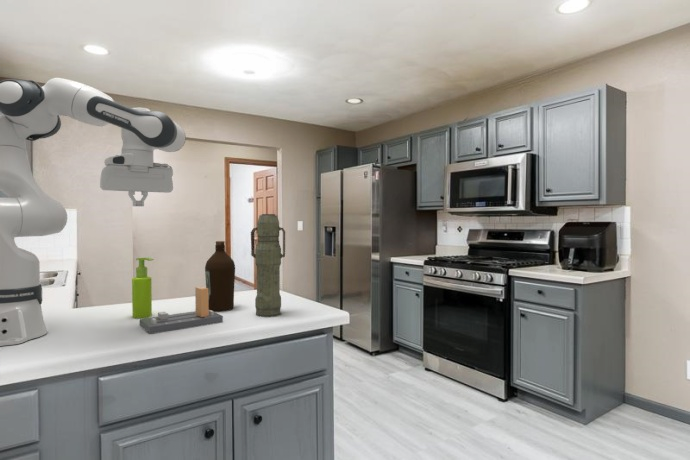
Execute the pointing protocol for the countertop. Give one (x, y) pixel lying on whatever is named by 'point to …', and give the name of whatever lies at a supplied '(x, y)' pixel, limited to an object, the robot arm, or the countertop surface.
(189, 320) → the console
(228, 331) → the countertop surface
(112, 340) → the countertop surface
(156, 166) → the robot arm
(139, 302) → the soap dispenser
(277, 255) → the thermos
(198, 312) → the fader lever
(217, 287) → the olive oil
